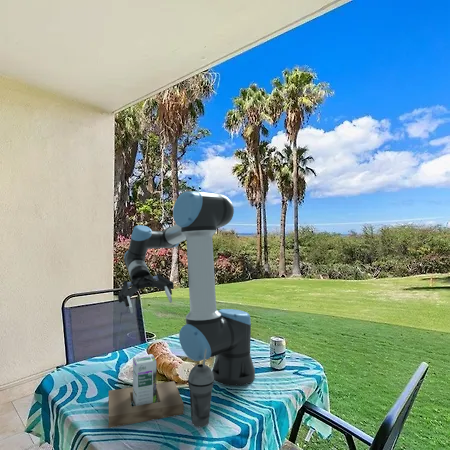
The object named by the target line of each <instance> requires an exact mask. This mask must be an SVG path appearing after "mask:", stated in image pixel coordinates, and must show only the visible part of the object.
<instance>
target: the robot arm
mask: <svg viewBox="0 0 450 450" xmlns="http://www.w3.org/2000/svg"><path fill="white" fill-rule="evenodd" d="M234 208H235V207H234V205H233V202H232V201H231V199H230V198H229V197H227V196H226V195H225V194H222V193H212V192H204V191H198V190H194V191H193V190H192V191H189V190H188V191H184V192H182V193H181V194H180V195H178V197H177V199H176V200H175V203H174V205H173V208H172V217H173V221H174V223H175V224H174V225H172V226H170V227H169V228H167V229H165V230H152V229H151V228H150V227H149V226H147V225H140V224H139V225H138V224H137V225H135V226H134V227H133V230H132V233H131V235H130V242H129V247H128V250H127V251H125V253H124V256H123V257H124V264H125V266H126V269H127V270H128V274H129V278H130V280H131V281H127V280H124V281H123V286H122V287H121V290H120V291H119V293H118V294H117V299H118V301H117V302H118V303H122V302H123V303H124V305H125V308H126V307H128V308H129V310H130V314H134V308H133V304H132V301H131V298H132V297H133V296H134V294H135V293H137V292H138V291H139V290H143V289H146V288H152V289H153V288H156V289H159V290H162V291H165V292H164V293H165V295H166V298H167V300H168V302H169V303H173V298H172V297H173V296H172V295H173V290H174V288H175V286H174V285H175V284H174V282H173V281H172V280H170V279H167V278H166V277H164V276H162V275H161V274H160V273H159V272H157V273H156V274H155V276H153V275H152V274H151V272H150V270H149V268H148V265H147V262H146V261H145V260H146V255H147V252H148V250H151V249H152V250H153V249H172V248H177V247H178V246H179V244H180V243H182V242H184V241H186V253H187V254H186V257H187V275H188V278H187V279H188V290H189V291H188V293H189V295H188V296H189V312H188V313H187V314H186V316H185V324H184V325H183V326H182V327H181V329H180V330H179V335H178V336H179V339H178V340H179V345H180V346H181V349H182V351H183V352H184V354H185V355H186V356H187V358H188V359H190V360H192V361H194V362H199V361H200V362H202V361H203V360H204V353H205V349H207V352H206V359H205V361H206V360H208V359H210V358H213V357H215V356H216V357H215V359H214V363H213V366H212V368H211V370H212V372H213V375H214V382H217V383H218V384H221V385H225V386H229V387H230V386H231V387H235V386H237V387H239V386H245V385H248V384H250V383H252V382H254V380H255V379H256V378H255V377H256V370H255V366H254V362H253V359H252V356H251V339H252V338H251V336H252V331H251V330H252V323H251V322H252V321H251V314H249V312H246V311H243V310H240V309H235V308H234V309H232V308H222V309H219V310H218V308H217V300H216V299H217V298H216V297H217V295H216V282H215V281H216V280H215V278H216V277H215V263H214V247H213V246H214V244H213V236H214V235H215V234H216V232H217V229H220V228H222V227H225V226H226V225H228V224H229V223H230V222H231V221H232V220H233V217H234V213H235V209H234Z"/></svg>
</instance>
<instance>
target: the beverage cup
mask: <svg viewBox="0 0 450 450" xmlns="http://www.w3.org/2000/svg"><path fill="white" fill-rule="evenodd" d="M206 352H207V349H205V353H204V360H202V362H203V363H198V364H196V365H195V366H194V367H192V368H191V369H190V370H189V374H188V378H187V384H188V389H189V400H190V415H191V416H190V417H191V422H192V425H193V426H194V427H197V428H205V427H206V426H208V424H209V421H210V416H211V415H210V414H211V404H212V394H213V388H214V383H215V380H214V375H213V372H212V368H211V367H209V366H208V365H207V364H206V360H207V359H206ZM205 359H206V360H205Z"/></svg>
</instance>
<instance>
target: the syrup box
mask: <svg viewBox="0 0 450 450" xmlns="http://www.w3.org/2000/svg"><path fill="white" fill-rule="evenodd" d="M156 384H157V359H156V358H155V356H154V354H152V353H150V354H146V355H139V356H133V358H132V387H133V402H132V405H133V406H139V405H145V404H151V403H157V398H156ZM133 406H132V407H133Z"/></svg>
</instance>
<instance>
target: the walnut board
mask: <svg viewBox="0 0 450 450" xmlns="http://www.w3.org/2000/svg"><path fill="white" fill-rule="evenodd" d="M181 396H182V395H181V393H180V391H179V389H178V387H177V384H176V382H175V380H173V381H166V382H165V381H164V382H160V383H156V403H151V404H145V405H139V406H132V405H133V404H132V403H133V386H131V387H127V388H119V389H111V390H108V429H110V428H117V427H122V426H126V425H127V426H128V425H132V424H133V425H134V424H137V423H143V422H148V421H149V422H150V421H155V420H160V419H166V418H170V417H177V416H181V415H184V413H185V411H184V410H185V409H184V407H185V406H184V402H183V399H182V397H181Z"/></svg>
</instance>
